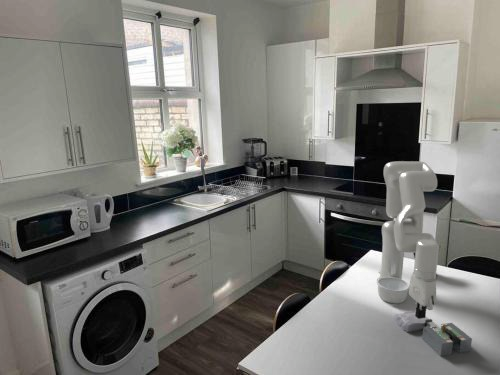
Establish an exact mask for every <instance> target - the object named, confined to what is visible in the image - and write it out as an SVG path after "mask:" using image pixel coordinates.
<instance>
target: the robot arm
mask: <svg viewBox="0 0 500 375" xmlns="http://www.w3.org/2000/svg"><path fill="white" fill-rule="evenodd" d="M383 178H384V182H385V186H386V199H385V200H386V203H385V213H386V216H387V217H388V218H391V219H395V220H389V221H385V222H384V223H382V226H381V237H382V252H381V264H380V266H381V267H380V270H378V274H379V276H378V278H377V279H376V283H377V282H378V280H379V279H380V278H383V277H395V278H399V279H402V278H403V269H404V268H403V267H404V259H405V258H404V257H405V253H412V254H413V253H415V258H414V266H413V271H412V273H411V277H410V281H409V290H408V295H409V296H410V297H411V298H412V299H413V300H414V305H415V311H416V314H415V316H416V317H417V318H418V319H421V318H425V316H426V314H427V311H432V310H433V306H435V304H436V301H437V280H436V278H437V276H436V274H437V268H438V260H439V253H440V250H439V245H440V244H438V243H437V241H436V238H435V237H434V236H433V235H432V234H431V233H427V232H423V231H424V230H423V229H424V215H425V214H424V213H425V212H424V210H425V209H426V207H427V206H426V200H425V196H424V195H425V194H424V192H434V191H435V190H436V189H437V187H438V178H437V175H436V173H435V172H434V170H433V169H432V167H430V166H429V165H428V164H427V163H426V162H425V161H417V160H416V161H413V160H411V161H404V160H401V161H400V160H399V161H396V160H395V161H390V162H387V163H386V164H385V165H384V167H383ZM405 219H410V220H405ZM438 252H439V253H438ZM402 280H403V279H402ZM426 317H427V316H426Z"/></svg>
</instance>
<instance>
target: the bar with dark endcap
mask: <svg viewBox="0 0 500 375" xmlns="http://www.w3.org/2000/svg"><path fill="white" fill-rule="evenodd" d="M442 324H443V330H442V329H441V326H439V325H437V324H436V323H435V322H434V321H433V319H432V318H428V320H425V327H426V326H431V325H434V326H435V327H437V329H439V330H440V331H442V332H443V333H444V334H445V335H446V336H447V337H448V338H450V336H449V335H448V334H447V333H445V327H446V325H445V324H444V323H442Z"/></svg>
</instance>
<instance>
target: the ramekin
mask: <svg viewBox="0 0 500 375" xmlns="http://www.w3.org/2000/svg"><path fill="white" fill-rule="evenodd" d="M376 285H377V293H378V297H380V299H381V300H382V301H384V302H387V303H389V304H390V303H391V304H401V303H403V302H405V301H406V300H407V297H408V294H409V285H410V283H408V282H407V281H405V280H403V279H399V278H395V277H383V278H380V279H379V280H378V282H377V281H376Z"/></svg>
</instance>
